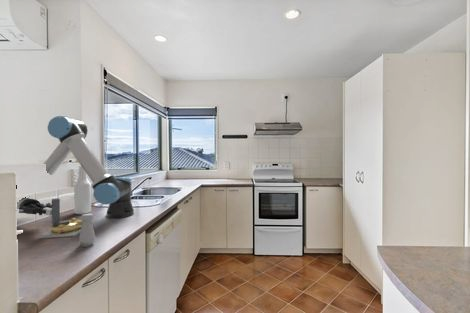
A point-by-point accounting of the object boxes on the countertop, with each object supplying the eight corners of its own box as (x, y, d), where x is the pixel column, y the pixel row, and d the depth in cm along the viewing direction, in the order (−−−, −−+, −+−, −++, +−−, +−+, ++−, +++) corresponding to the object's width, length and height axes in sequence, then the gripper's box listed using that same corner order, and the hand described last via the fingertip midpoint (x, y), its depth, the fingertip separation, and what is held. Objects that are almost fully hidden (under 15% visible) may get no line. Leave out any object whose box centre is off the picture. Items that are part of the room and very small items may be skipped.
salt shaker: (86, 241, 97) (86, 211, 97) (98, 242, 96) (98, 212, 96) (75, 247, 91) (75, 215, 91) (88, 248, 91) (88, 216, 90)
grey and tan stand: (77, 221, 119) (77, 194, 119) (88, 226, 112) (88, 197, 112) (46, 228, 109) (46, 197, 108) (56, 234, 101) (56, 201, 101)
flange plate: (90, 223, 121) (90, 220, 121) (75, 235, 103) (75, 232, 103) (60, 225, 117) (60, 222, 117) (39, 238, 100) (39, 234, 100)
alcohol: (70, 213, 139) (70, 165, 138) (83, 210, 147) (83, 164, 147) (82, 215, 137) (82, 166, 136) (94, 211, 145) (94, 165, 145)
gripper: (43, 210, 123) (67, 216, 112) (11, 215, 111) (34, 224, 100) (44, 196, 123) (67, 201, 112) (11, 200, 111) (34, 207, 100)
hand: (51, 212), depth 106 cm, fingers closed
